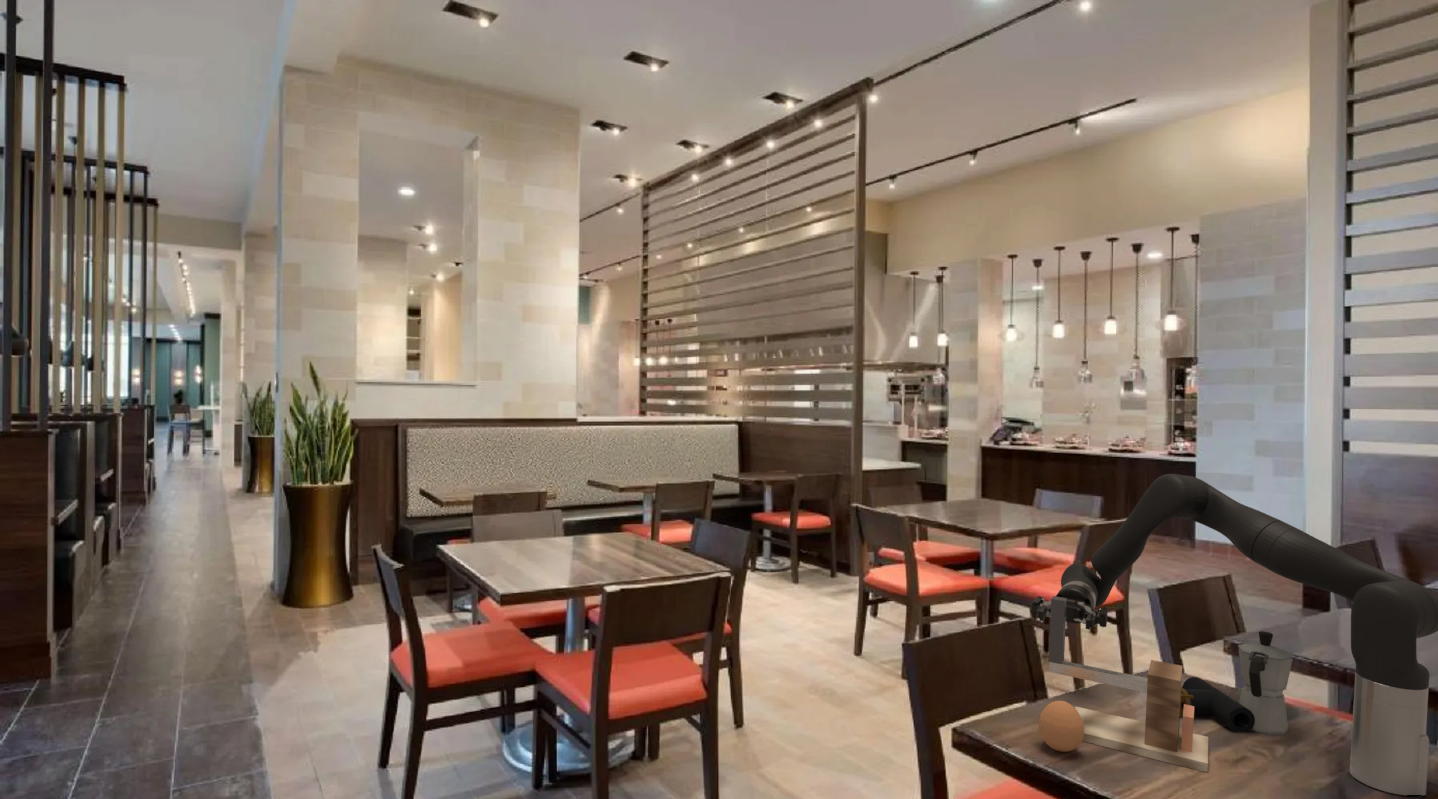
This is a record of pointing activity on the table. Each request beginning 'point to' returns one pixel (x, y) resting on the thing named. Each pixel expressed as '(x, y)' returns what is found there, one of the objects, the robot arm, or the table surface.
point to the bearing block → (1150, 724)
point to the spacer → (1187, 728)
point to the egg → (1061, 726)
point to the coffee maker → (1265, 684)
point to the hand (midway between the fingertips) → (1064, 620)
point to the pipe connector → (1215, 705)
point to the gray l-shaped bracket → (1079, 670)
